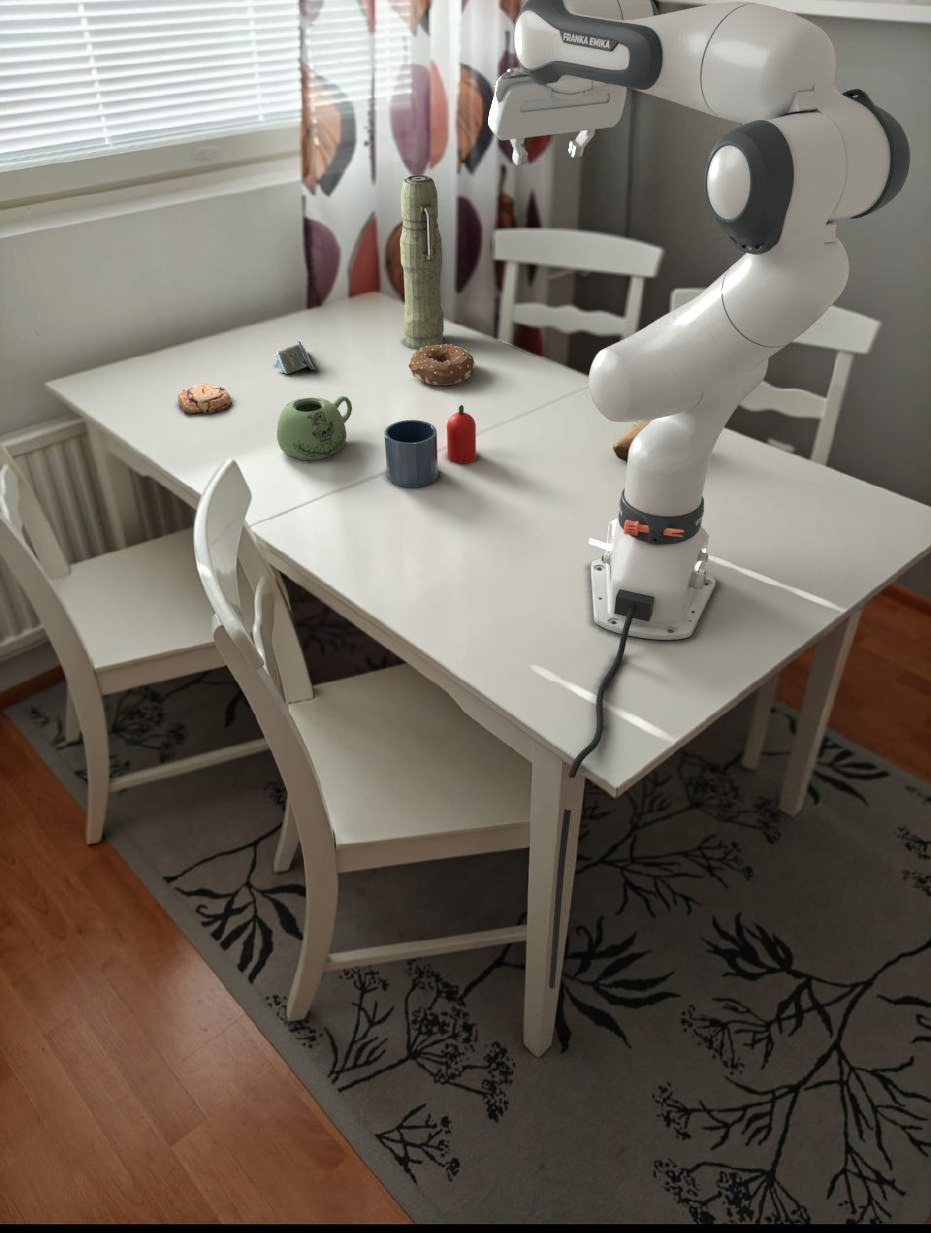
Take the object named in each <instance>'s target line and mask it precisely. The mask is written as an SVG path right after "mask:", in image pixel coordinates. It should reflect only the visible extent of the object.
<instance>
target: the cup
mask: <svg viewBox="0 0 931 1233" xmlns="http://www.w3.org/2000/svg"><path fill="white" fill-rule="evenodd" d="M384 447H385V448H384V449H385V463H386V477H387V479H388V481H390V483H392V484H393V485H396V486H399V487H401V488H421V487H425V486H428V485H430V484H432V483H433V482H434V481H436V479H437V478H438V475H439V467H438V464H439V463H438V432H437V428H436V426H434V425H433V424H432V423H430V422H427V421H425V420H418V419H405V420H400V421H396V422H394V423H390V425H388V426H387V427H386V428H385V430H384Z"/></svg>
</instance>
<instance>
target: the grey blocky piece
mask: <svg viewBox="0 0 931 1233" xmlns="http://www.w3.org/2000/svg"><path fill="white" fill-rule="evenodd" d="M273 356H274V358H275V361H276V365H277V367H278V369H279V370H280V373H282V374H283V373H285V374H286V375H288V374H292V373H293V372H297V371H299V370H301V369H304V368H306V367H308V368H309V369H310V370H313V371H316V369H315V367H314V365H313V363H312V361H311V358H310V357H309V354H308V352H307V350H306V348H305V345H304V343H303V341H302V338H301V337H300V339H299V340H298V342H297V343H296V344H294V345H291V346H289V347H287V348H284V349H281V350H279V351H278V352H276V353H275V354H274V355H273Z"/></svg>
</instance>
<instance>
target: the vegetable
mask: <svg viewBox="0 0 931 1233" xmlns="http://www.w3.org/2000/svg"><path fill="white" fill-rule="evenodd" d="M651 421H652V420H651ZM651 421H644V422H635V424H633V425H632V426H631V427H630V428H629V429H627V431H625V433H623V434H622V436H620V437H619V438H618V439H617V440H615V441H614V442H613V445H612V446H613V447H612V449H613V452H614V454H615V456H616V457H617V458H618V459H620V460H622V461H628V453H629V448H630V446H631V443H632V441H633V440H634V438H635V437H636V436H637V434H638V433H639V432H640V431H641V430H642V429H644V428H645V427H646V426H647V425H648V424H649V423H650V422H651Z"/></svg>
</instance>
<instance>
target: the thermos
mask: <svg viewBox="0 0 931 1233" xmlns="http://www.w3.org/2000/svg"><path fill="white" fill-rule="evenodd" d="M438 203H439V202H438V191H437V187H436V184H435V181H434V179H433V177H430V176H429V175H425V174H414V175H410V176H408V177H407V178H404V179H403V183H402V187H401V192H400V205H401V206H400V209H401V218H402V224H401V229H402V230H401V235H400V238H399V247H400V265H401V266H402V268H403V285H404V286H403V288H404V290H403V291H404V311H403V313H402V314H403V315H402V319H403V333H404V338H405V339H404V343H405V345H406V346H407V347H409V348H411V349H415V350H420V348H421V347H422V348H423V347H425V346H430V345H432V346H434V345H441V344H444V331H445V330H444V329H445V327H444V326H445V322H444V311H443V308H442V304H441V303H442V302H441V301H442V300H441V296H442V295H441V266H442V264H443V255H442V254H443V252H442V249H443V247H442V236H441V232H440V230H439V223H438V218H439V211H438V210H439V206H438V205H439V204H438Z"/></svg>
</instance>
